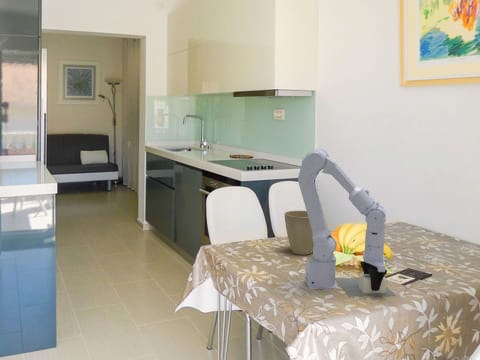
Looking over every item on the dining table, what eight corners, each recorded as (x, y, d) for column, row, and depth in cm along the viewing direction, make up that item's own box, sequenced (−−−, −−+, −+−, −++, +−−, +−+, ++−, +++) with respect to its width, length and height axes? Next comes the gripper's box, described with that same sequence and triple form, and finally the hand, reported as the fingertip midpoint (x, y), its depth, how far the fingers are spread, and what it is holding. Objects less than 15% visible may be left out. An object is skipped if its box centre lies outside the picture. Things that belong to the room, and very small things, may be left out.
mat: (348, 297, 149) (348, 296, 148) (333, 279, 165) (333, 277, 165) (396, 297, 150) (396, 295, 150) (376, 278, 167) (376, 277, 167)
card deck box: (363, 293, 151) (364, 278, 151) (358, 287, 156) (359, 273, 156) (385, 292, 152) (386, 278, 151) (379, 287, 157) (380, 273, 156)
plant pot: (327, 255, 194) (329, 215, 192) (296, 259, 188) (297, 218, 186) (306, 246, 208) (308, 209, 205) (276, 249, 201) (277, 211, 199)
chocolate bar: (432, 274, 171) (404, 285, 159) (432, 276, 171) (404, 287, 159) (408, 268, 178) (380, 278, 166) (408, 270, 178) (380, 280, 166)
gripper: (396, 251, 146) (393, 295, 147) (378, 239, 160) (376, 279, 162) (373, 251, 145) (370, 295, 147) (357, 239, 159) (355, 279, 161)
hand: (372, 287), depth 154 cm, fingers closed on card deck box, 5 cm apart
